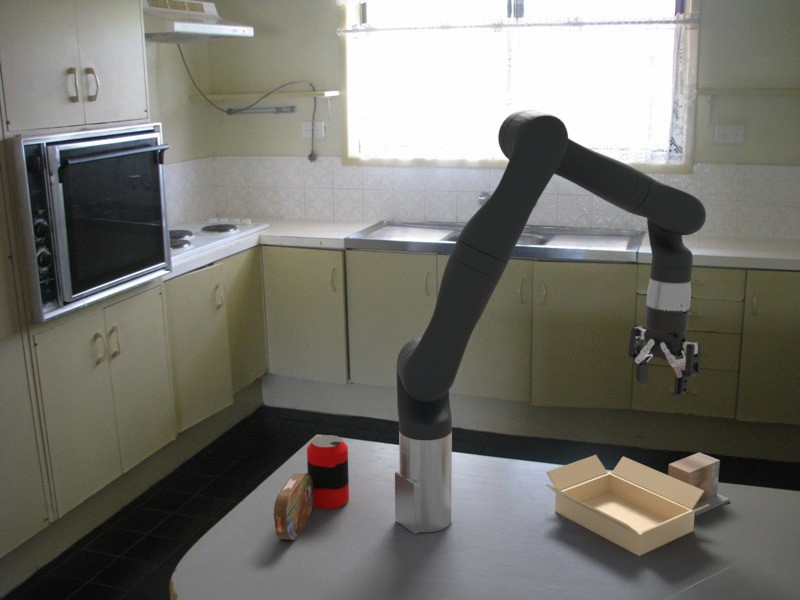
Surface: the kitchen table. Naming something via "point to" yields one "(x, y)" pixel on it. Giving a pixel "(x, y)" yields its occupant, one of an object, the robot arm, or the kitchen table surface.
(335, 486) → the soda can
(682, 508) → the carton
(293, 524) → the tin
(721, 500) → the mat
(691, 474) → the tan rectangular block
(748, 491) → the kitchen table surface
